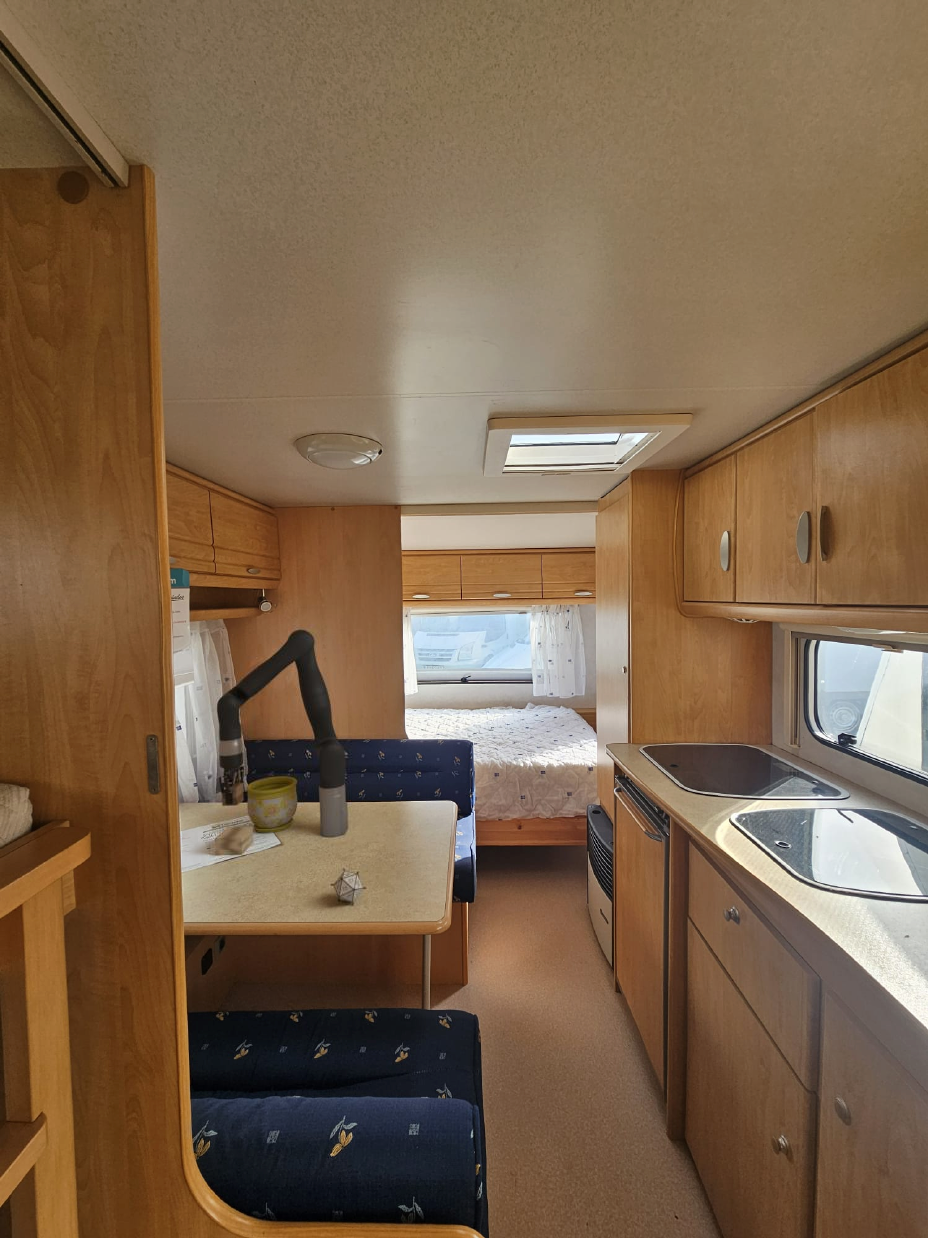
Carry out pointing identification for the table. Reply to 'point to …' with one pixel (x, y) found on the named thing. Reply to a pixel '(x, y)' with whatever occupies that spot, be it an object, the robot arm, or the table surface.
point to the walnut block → (235, 795)
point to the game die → (348, 886)
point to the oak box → (234, 841)
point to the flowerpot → (272, 803)
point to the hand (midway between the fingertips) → (233, 801)
